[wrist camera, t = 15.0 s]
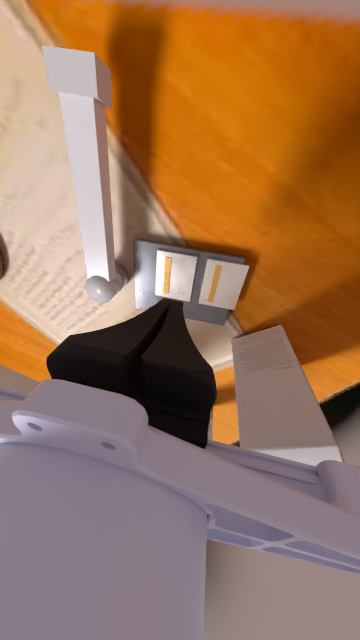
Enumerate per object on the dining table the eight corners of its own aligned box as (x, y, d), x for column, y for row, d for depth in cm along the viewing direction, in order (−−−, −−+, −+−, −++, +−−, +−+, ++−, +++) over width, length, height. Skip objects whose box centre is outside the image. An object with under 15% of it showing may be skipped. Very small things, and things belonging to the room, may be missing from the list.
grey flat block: (227, 322, 23) (228, 332, 21) (108, 299, 24) (100, 306, 22) (249, 257, 18) (252, 263, 17) (100, 232, 19) (89, 236, 18)
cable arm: (121, 297, 21) (113, 305, 19) (95, 291, 21) (86, 299, 19) (110, 69, 11) (94, 52, 10) (64, 63, 12) (41, 45, 10)
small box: (299, 367, 25) (356, 496, 14) (251, 377, 28) (271, 492, 17) (282, 322, 22) (341, 447, 11) (230, 338, 24) (237, 452, 14)
